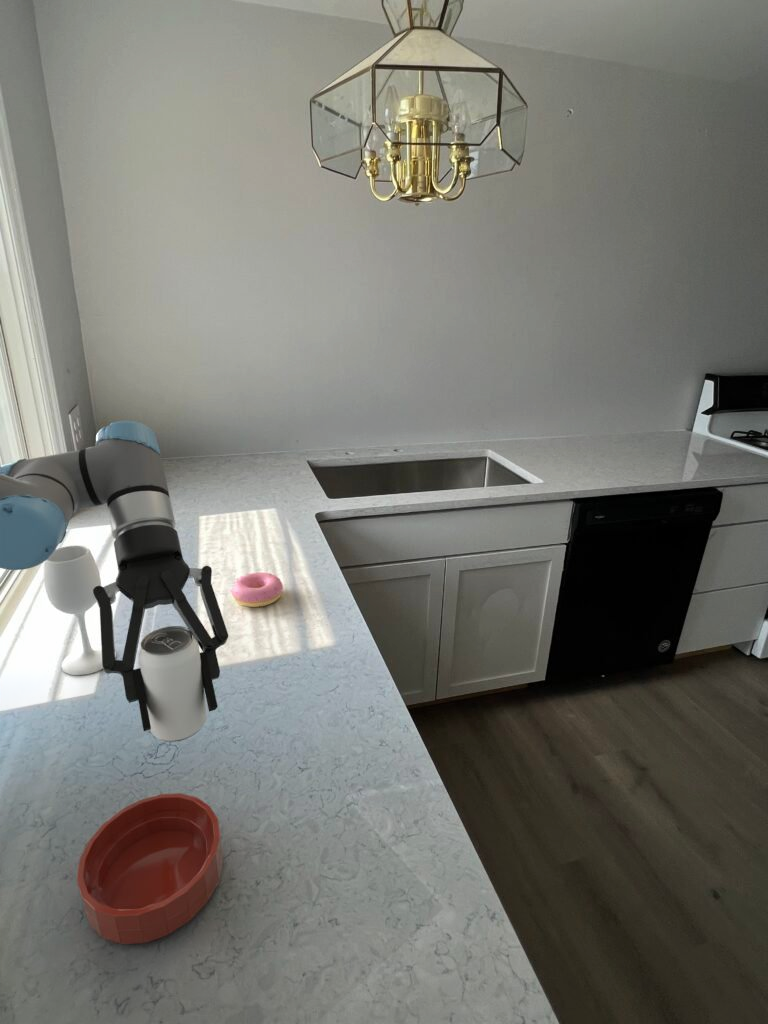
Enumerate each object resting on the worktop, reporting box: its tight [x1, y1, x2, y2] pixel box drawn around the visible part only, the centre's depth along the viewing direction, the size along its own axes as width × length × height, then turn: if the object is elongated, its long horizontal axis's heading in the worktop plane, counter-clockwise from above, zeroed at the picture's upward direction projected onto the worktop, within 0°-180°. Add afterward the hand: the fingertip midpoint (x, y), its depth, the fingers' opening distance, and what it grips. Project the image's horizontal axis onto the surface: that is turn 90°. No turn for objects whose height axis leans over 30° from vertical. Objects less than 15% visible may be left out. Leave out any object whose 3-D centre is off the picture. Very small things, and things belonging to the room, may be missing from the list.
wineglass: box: [43, 545, 117, 676], centre depth 95 cm, size 9×9×21 cm
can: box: [138, 625, 208, 743], centre depth 65 cm, size 6×6×12 cm
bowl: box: [76, 792, 224, 945], centre depth 61 cm, size 14×14×5 cm
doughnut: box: [230, 572, 284, 608], centre depth 120 cm, size 11×11×4 cm
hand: (181, 718), depth 63 cm, fingers closed on can, 6 cm apart
